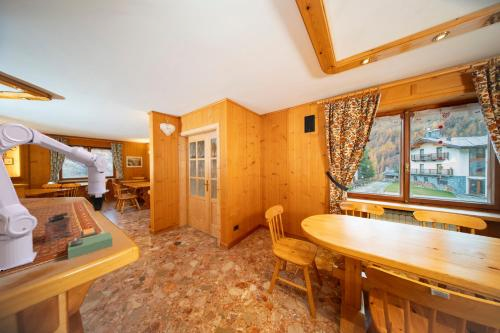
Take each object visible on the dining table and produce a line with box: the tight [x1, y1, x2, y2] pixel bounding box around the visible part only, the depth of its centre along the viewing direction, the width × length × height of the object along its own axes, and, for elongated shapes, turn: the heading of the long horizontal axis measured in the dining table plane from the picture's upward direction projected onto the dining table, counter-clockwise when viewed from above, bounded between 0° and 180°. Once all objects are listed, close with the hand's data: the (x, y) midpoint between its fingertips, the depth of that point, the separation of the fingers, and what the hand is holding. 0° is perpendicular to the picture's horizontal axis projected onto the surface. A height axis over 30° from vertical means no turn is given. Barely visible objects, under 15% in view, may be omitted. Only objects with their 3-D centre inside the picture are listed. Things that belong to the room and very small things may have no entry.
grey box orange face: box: [80, 227, 99, 239], centre depth 62 cm, size 4×7×5 cm, turn 48°
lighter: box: [43, 212, 72, 243], centre depth 67 cm, size 8×3×10 cm, turn 179°
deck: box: [67, 230, 113, 260], centre depth 59 cm, size 11×13×4 cm
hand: (97, 210), depth 72 cm, fingers closed
